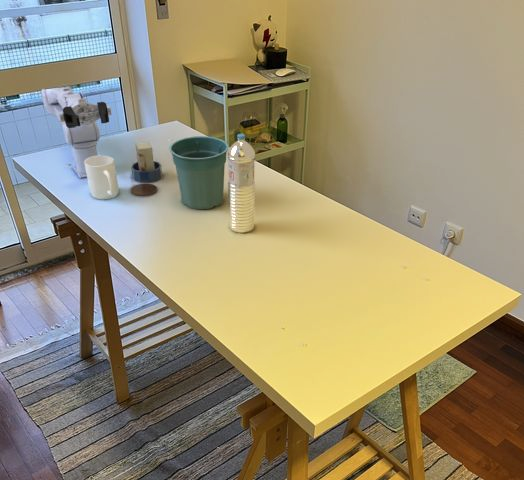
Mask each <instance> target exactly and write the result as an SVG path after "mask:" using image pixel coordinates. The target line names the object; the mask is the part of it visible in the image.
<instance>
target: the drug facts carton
mask: <svg viewBox="0 0 524 480" xmlns="http://www.w3.org/2000/svg"><path fill="white" fill-rule="evenodd" d="M135 150H136V157H137V158H136V159H137V162H138V166H139V171H152V170H155V168H154V161H155V160H154V153H153V146H152V145H151V143H150V141H143V142H136V143H135Z"/></svg>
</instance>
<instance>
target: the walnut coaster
mask: <svg viewBox="0 0 524 480" xmlns="http://www.w3.org/2000/svg"><path fill="white" fill-rule="evenodd" d="M130 193H131V194H132V195H133V196H136V197H150V196H153V195H155V194H156V193H158V187H157V186H156V185H155V184H153V183H137V184H135V185H133V186H132V187H130Z"/></svg>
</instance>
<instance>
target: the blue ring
mask: <svg viewBox="0 0 524 480" xmlns="http://www.w3.org/2000/svg"><path fill="white" fill-rule="evenodd" d="M154 168H155V170H152V171H139V166H138V161H136V162H133V163H132V164H131V167H130V170H131V177H132V179H133V180H134V181H135V182H138V183H140V184H151V183H154V182H158V181H160V180H161V179H162V178H163V167H162V164H161V163H160V162H159V161H156V160H154Z"/></svg>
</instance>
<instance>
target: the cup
mask: <svg viewBox="0 0 524 480" xmlns="http://www.w3.org/2000/svg"><path fill="white" fill-rule="evenodd" d="M84 163H85V168H86V173H87V177H86V178H87V183H88V188H89V192H90V195H91V196H92V198H93V199H96V200H111V199H113V198H115V197H117V196H118V195H119V190H120V189H119V184H118V177H117V172H116V166H115V159H114V158H113V157H112V156H109V155H103V154H102V155H101V154H98V156H93V157H89V158H87V159H86V160H85V161H84Z"/></svg>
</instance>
